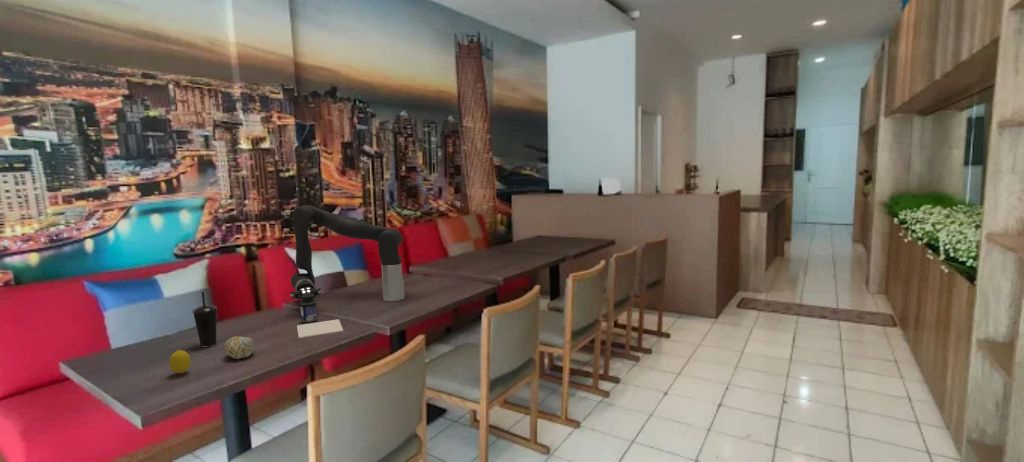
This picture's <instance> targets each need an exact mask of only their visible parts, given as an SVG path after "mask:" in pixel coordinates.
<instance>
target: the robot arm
mask: <svg viewBox="0 0 1024 462" xmlns="http://www.w3.org/2000/svg"><path fill="white" fill-rule="evenodd" d="M292 222H293V229H294V238H295V267H296V269H298V270H304V271H305V272H304V273H303V272H302V273H301V272H300V273H294V274H293V275H292V276H291V278H290V284H291V286H292V287H293V289H295V291H290V298H291V299H297V300H302V299H301V296H303V295H307V294H313V295H314V298H316V297H318V296H319V295H322V288H315V284H316V279H315V275H314V271H313V266H312V263H313V260H312V259H313V253H312V246H311V242H310V239H309V226H310V225H315V226H320V227H324V228H327V229H329V230H331V231H332V232H334V233H335V234H337V235H340V236H342V237H347V238H350V239H355V240H357V239H358V240H367V241H368V240H369V241H374V242H377V246H378V257H379V259H380V264H381V267H380V268H381V279H382V297H383V301H384V302H388V303H389V302H399V301H401V300H405V284H404V283H405V282H404V278H403V267H402V257H401V256H400V254H399V253H400V252H399V246H400V245H401V244H402V242H403V238H404V237H403V234H402V233H401V232H400V231H399V230H398V229H396V228H391V227H385V226H379V225H376V224H375V225H374V224H373V223H370V222H367V221H363V220H360V219H357V218H354V217H351V216H347V215H343V214H340V213H339V214H338V213H333V212H329V211H326V210H324V209H321V208H318V207H316V206H313V205H308V204H306V205H305V204H304V205H300V206H297V207H295V209H294V210H293V211H292Z"/></svg>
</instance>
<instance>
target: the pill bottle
mask: <svg viewBox="0 0 1024 462" xmlns="http://www.w3.org/2000/svg"><path fill="white" fill-rule="evenodd" d="M314 298H315V297H314V295H313V294H307V295H303V296H301V299H300V300H301V302H300V303H299V304H300V305H299V306H300V315H301V316H300V317H301V323H302V324H310V323H317V321H318V320H319V319H318V311H317V301H316V300H315V299H314Z"/></svg>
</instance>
